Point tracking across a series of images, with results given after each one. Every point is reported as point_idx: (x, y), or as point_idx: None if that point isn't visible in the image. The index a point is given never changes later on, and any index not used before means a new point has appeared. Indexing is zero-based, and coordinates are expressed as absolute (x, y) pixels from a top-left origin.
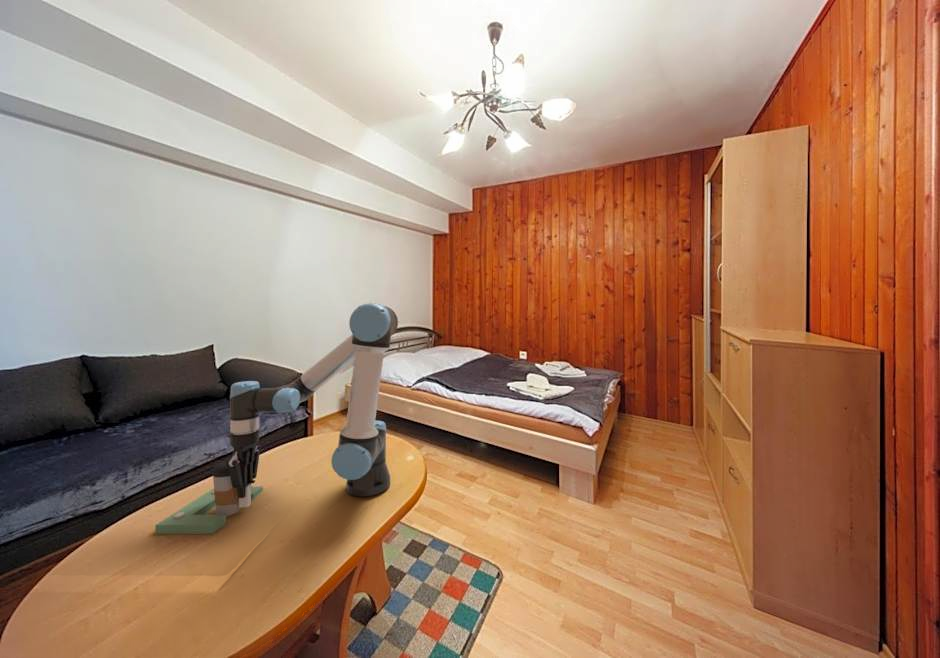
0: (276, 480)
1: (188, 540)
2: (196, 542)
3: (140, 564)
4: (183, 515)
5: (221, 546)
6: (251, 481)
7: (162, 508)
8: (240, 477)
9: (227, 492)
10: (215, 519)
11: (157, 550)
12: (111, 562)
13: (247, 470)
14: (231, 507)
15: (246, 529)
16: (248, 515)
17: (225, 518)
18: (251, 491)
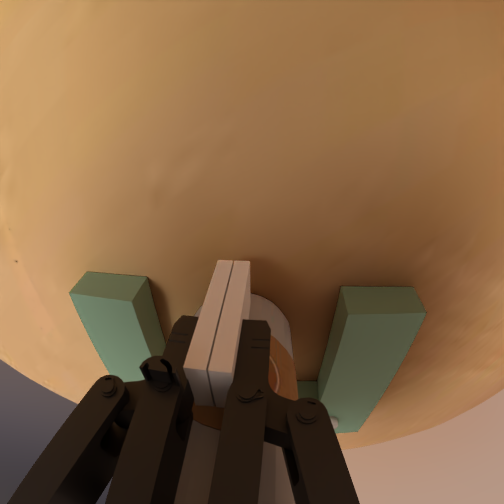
0: (15, 273)
1: (423, 332)
2: (445, 304)
3: (478, 354)
4: None
5: (496, 203)
6: (168, 382)
7: None
8: (328, 502)
9: None
10: (380, 331)
11: (439, 364)
12: (441, 398)
13: (161, 497)
14: (276, 330)
15: (411, 158)
16: (275, 224)
17: (351, 303)
18: (116, 319)
